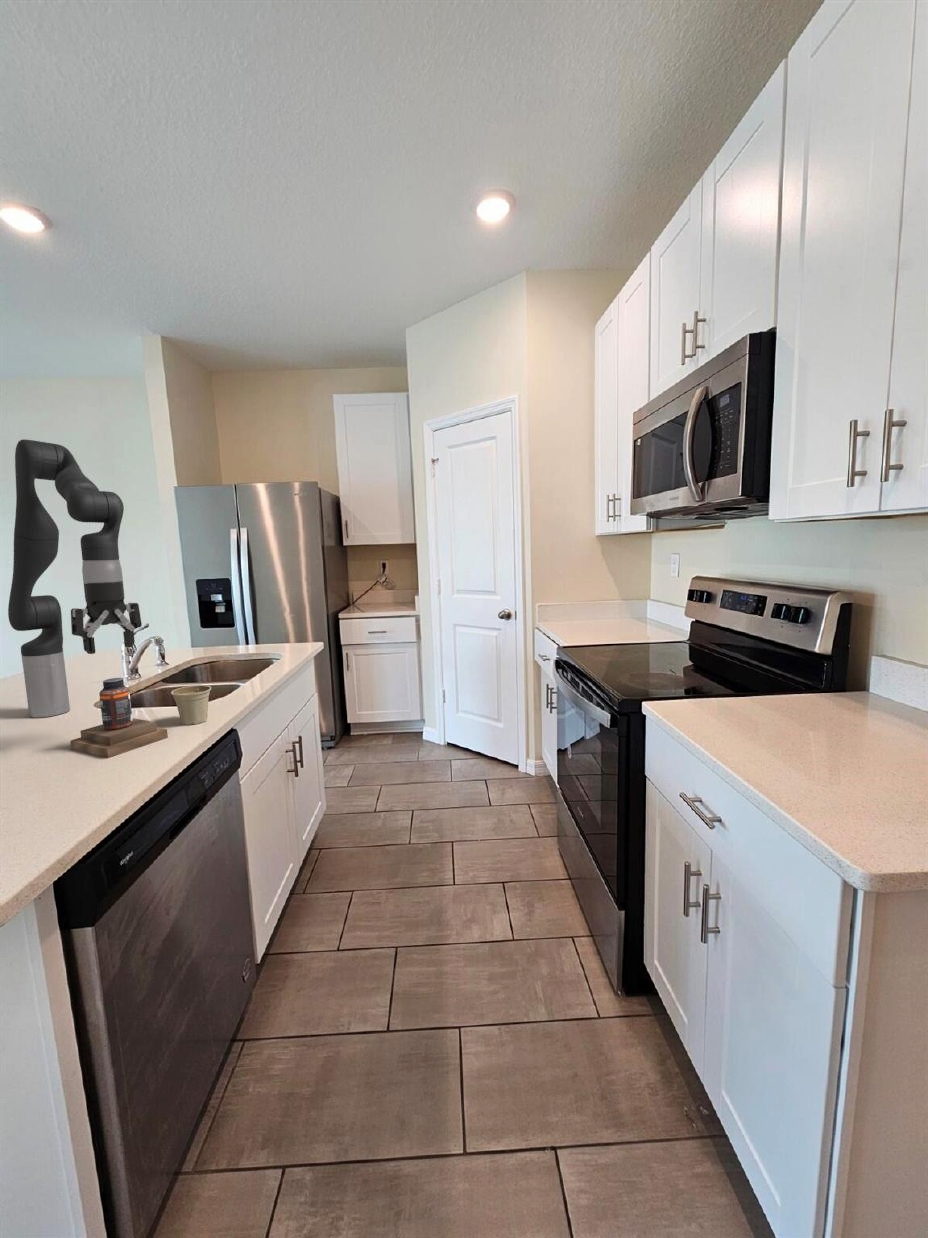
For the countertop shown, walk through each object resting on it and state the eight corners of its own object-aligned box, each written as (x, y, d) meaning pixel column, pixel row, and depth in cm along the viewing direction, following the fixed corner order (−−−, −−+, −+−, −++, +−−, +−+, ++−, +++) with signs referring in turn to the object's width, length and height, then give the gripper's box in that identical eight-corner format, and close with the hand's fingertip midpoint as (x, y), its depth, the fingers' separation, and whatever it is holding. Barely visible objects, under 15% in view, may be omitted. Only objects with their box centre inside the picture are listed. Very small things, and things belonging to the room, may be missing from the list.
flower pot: (203, 727, 138) (200, 694, 137) (166, 727, 138) (163, 694, 137) (220, 716, 147) (217, 685, 146) (186, 716, 147) (183, 685, 146)
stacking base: (71, 748, 124) (69, 732, 124) (131, 730, 137) (130, 714, 136) (108, 758, 118) (106, 740, 117) (167, 737, 130) (166, 721, 130)
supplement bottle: (138, 722, 129) (134, 676, 128) (121, 731, 124) (116, 682, 122) (115, 722, 130) (110, 676, 128) (96, 730, 124) (91, 682, 123)
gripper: (124, 578, 131) (131, 644, 133) (59, 581, 118) (67, 654, 121) (144, 578, 128) (150, 646, 130) (79, 582, 115) (87, 657, 117)
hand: (110, 650), depth 125 cm, fingers open, 8 cm apart
